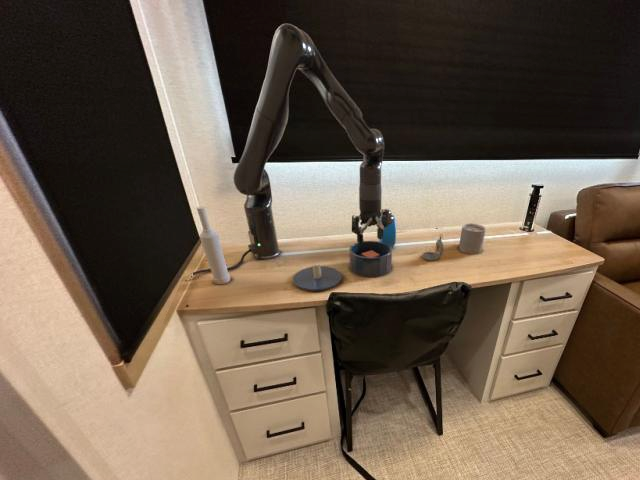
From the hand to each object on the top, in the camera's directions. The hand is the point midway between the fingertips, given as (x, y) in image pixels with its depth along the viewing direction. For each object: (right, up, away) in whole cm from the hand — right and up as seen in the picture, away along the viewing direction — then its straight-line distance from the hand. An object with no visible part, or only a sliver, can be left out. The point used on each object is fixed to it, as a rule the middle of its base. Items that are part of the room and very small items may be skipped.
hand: (370, 241), depth 115 cm
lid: (-18, -14, -5) cm, 23 cm away
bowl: (0, -9, +6) cm, 11 cm away
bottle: (-50, -15, -8) cm, 52 cm away
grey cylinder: (+42, +2, +26) cm, 49 cm away
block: (0, -9, +5) cm, 10 cm away
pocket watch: (+25, -4, +16) cm, 29 cm away
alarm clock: (+5, +3, +24) cm, 25 cm away
